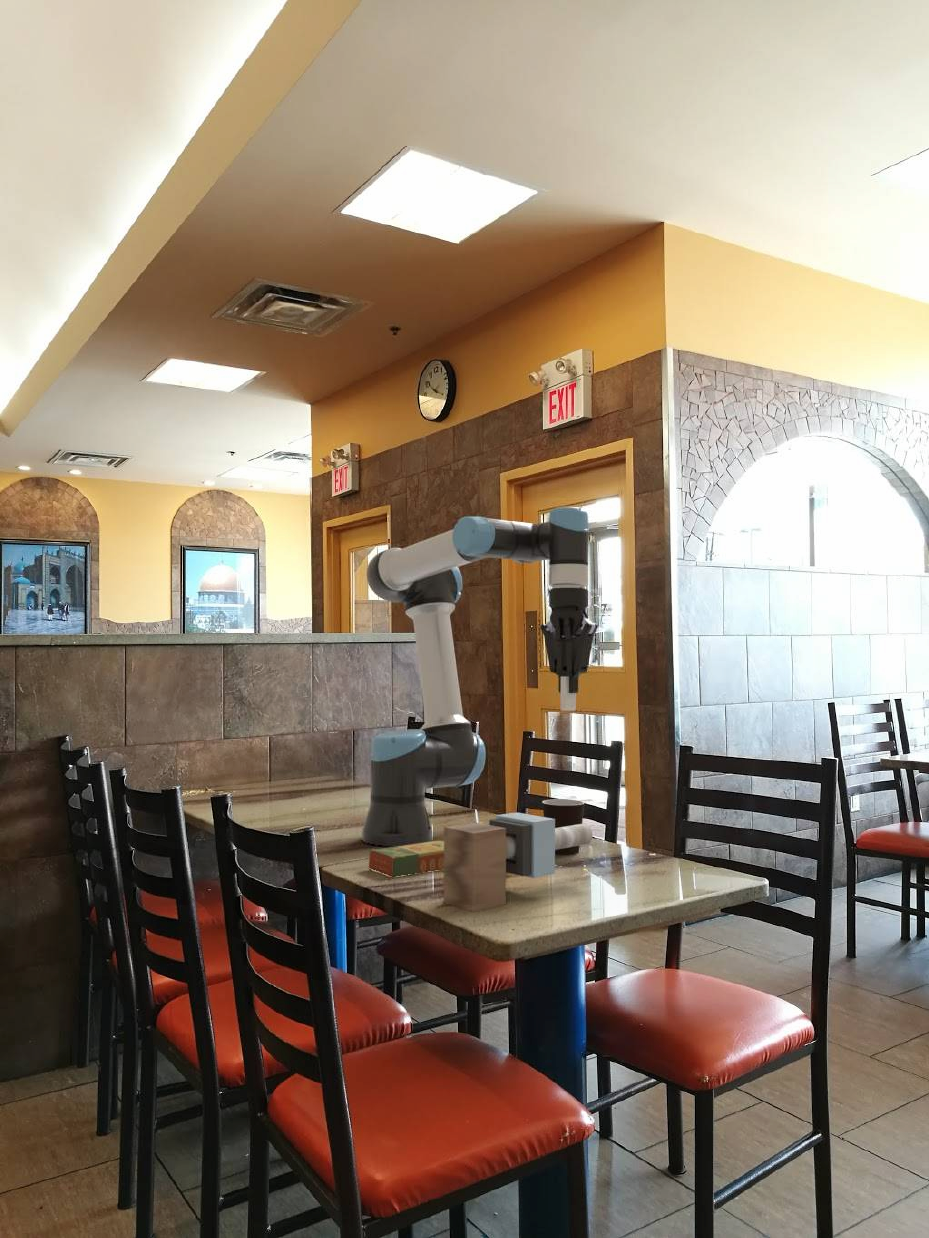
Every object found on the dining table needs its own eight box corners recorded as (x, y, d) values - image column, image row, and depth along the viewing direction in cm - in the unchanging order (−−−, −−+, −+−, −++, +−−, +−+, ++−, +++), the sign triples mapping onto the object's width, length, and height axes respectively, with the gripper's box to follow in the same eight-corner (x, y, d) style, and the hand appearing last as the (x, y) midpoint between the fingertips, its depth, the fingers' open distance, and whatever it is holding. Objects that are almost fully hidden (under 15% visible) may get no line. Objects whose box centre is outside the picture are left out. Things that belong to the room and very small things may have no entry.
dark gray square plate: (489, 867, 159) (489, 819, 159) (497, 866, 160) (497, 818, 161) (522, 876, 153) (523, 826, 153) (531, 874, 154) (531, 824, 155)
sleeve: (495, 868, 161) (495, 815, 161) (516, 864, 164) (516, 812, 164) (533, 878, 154) (534, 822, 154) (554, 873, 157) (555, 819, 158)
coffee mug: (582, 856, 188) (582, 806, 189) (539, 854, 190) (539, 804, 190) (587, 845, 200) (587, 798, 200) (546, 843, 201) (546, 796, 202)
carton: (464, 869, 178) (464, 846, 178) (392, 880, 169) (392, 856, 169) (439, 861, 185) (439, 838, 185) (368, 871, 175) (368, 848, 175)
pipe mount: (443, 902, 152) (444, 827, 152) (569, 875, 171) (570, 808, 172) (473, 911, 146) (473, 833, 147) (599, 882, 166) (599, 813, 167)
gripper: (607, 587, 181) (607, 711, 180) (556, 590, 190) (556, 708, 189) (581, 584, 176) (580, 712, 175) (530, 588, 185) (530, 709, 184)
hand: (568, 710), depth 182 cm, fingers closed
